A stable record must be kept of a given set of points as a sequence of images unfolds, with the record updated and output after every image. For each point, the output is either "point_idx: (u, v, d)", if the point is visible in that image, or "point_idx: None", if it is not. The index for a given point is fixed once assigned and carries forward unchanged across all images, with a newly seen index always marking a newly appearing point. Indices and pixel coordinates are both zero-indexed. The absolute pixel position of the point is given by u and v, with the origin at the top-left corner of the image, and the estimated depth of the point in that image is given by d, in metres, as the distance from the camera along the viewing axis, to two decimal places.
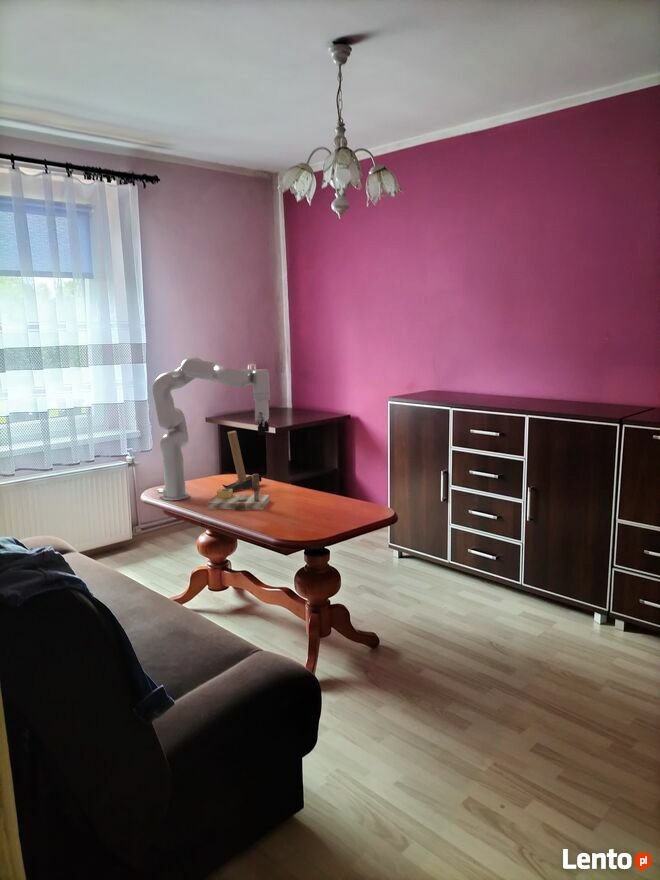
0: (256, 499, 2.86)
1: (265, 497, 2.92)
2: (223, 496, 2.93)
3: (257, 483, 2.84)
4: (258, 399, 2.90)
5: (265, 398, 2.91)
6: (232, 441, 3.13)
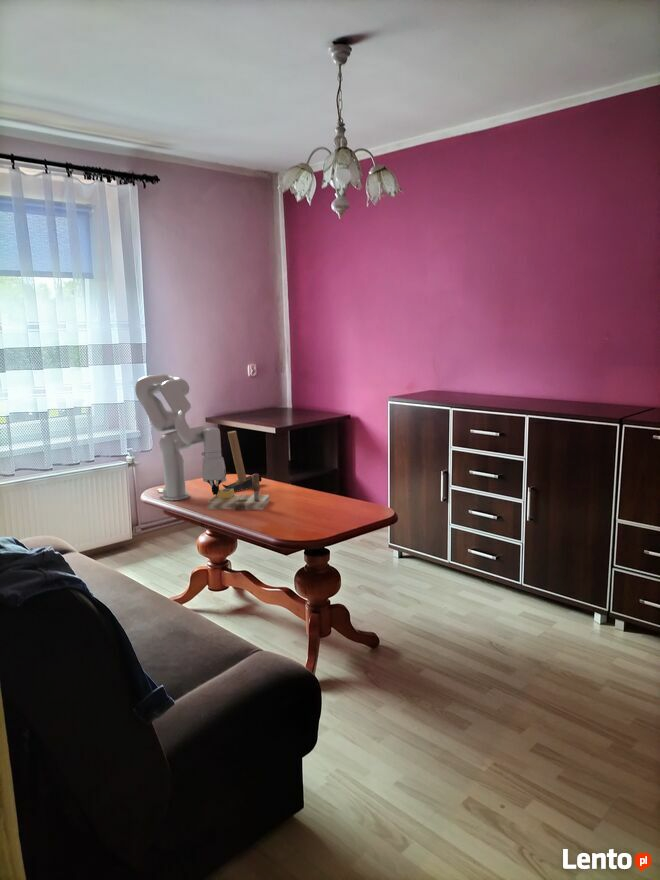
0: (256, 499, 2.86)
1: (265, 497, 2.92)
2: (224, 496, 2.93)
3: (257, 483, 2.84)
4: (220, 457, 2.91)
5: None
6: (232, 441, 3.13)
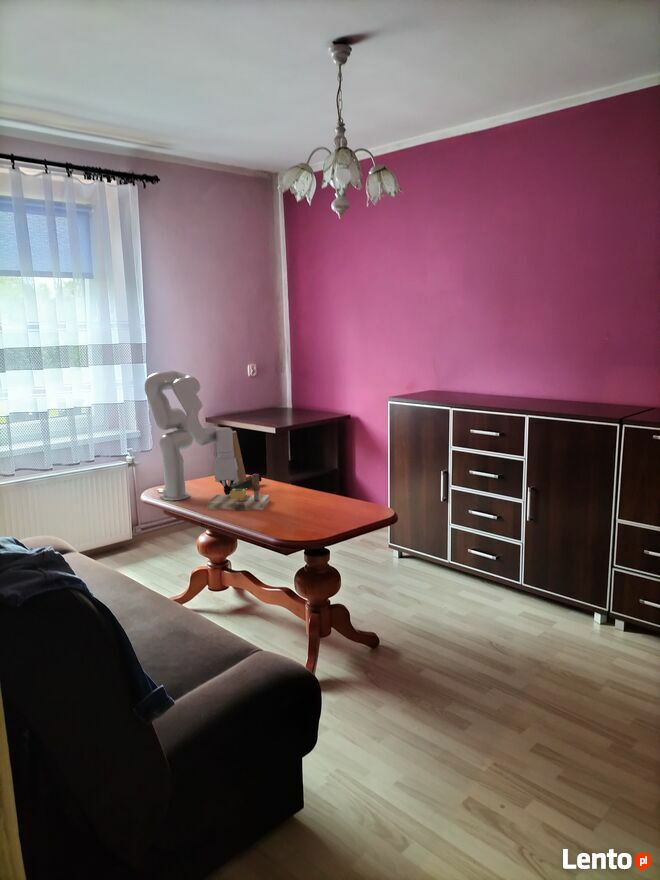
0: (256, 499, 2.86)
1: (265, 497, 2.92)
2: (236, 496, 2.92)
3: (257, 483, 2.84)
4: (232, 457, 2.90)
5: None
6: None
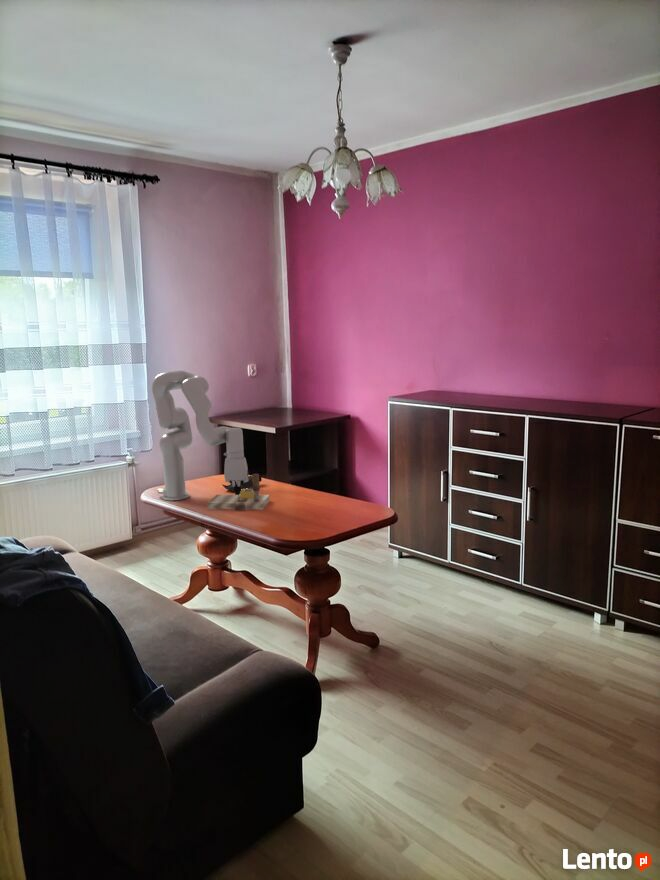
0: (256, 499, 2.86)
1: (265, 497, 2.92)
2: (246, 496, 2.91)
3: (257, 483, 2.84)
4: (242, 457, 2.90)
5: None
6: None
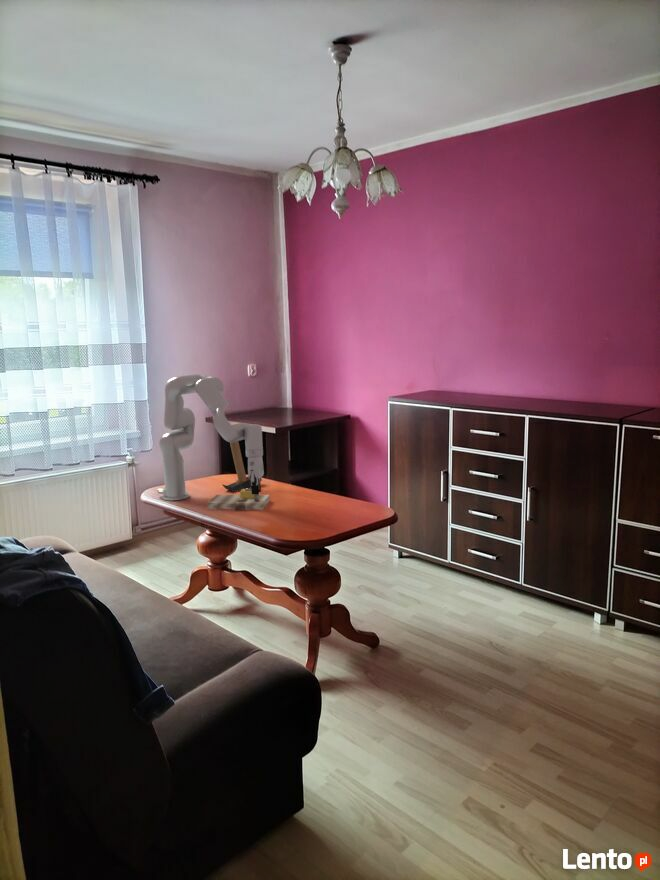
0: (256, 499, 2.86)
1: (265, 497, 2.92)
2: (246, 496, 2.91)
3: None
4: None
5: None
6: None
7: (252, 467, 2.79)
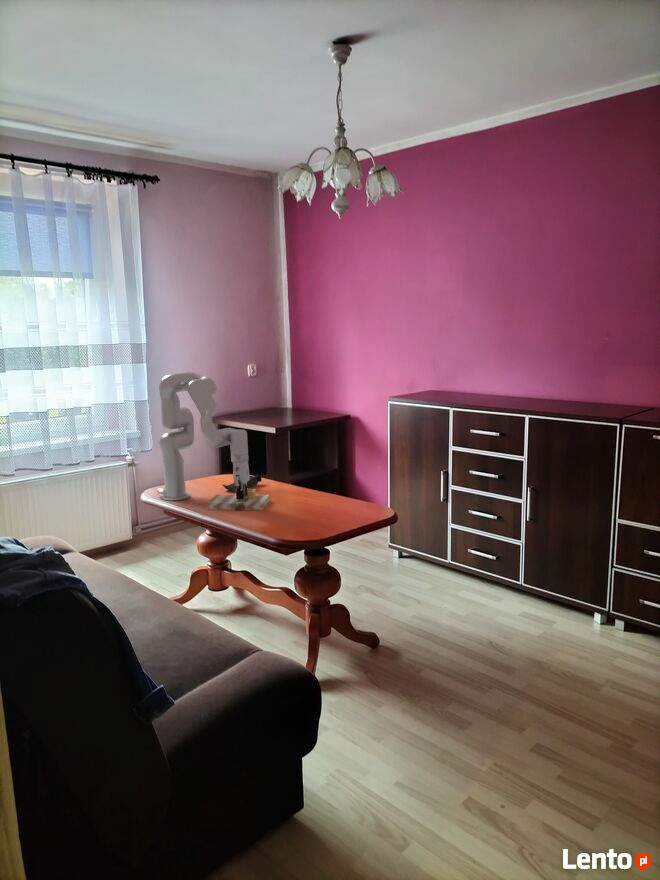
0: None
1: (265, 497, 2.92)
2: (246, 496, 2.91)
3: (243, 490, 2.86)
4: None
5: None
6: None
7: (237, 472, 2.80)
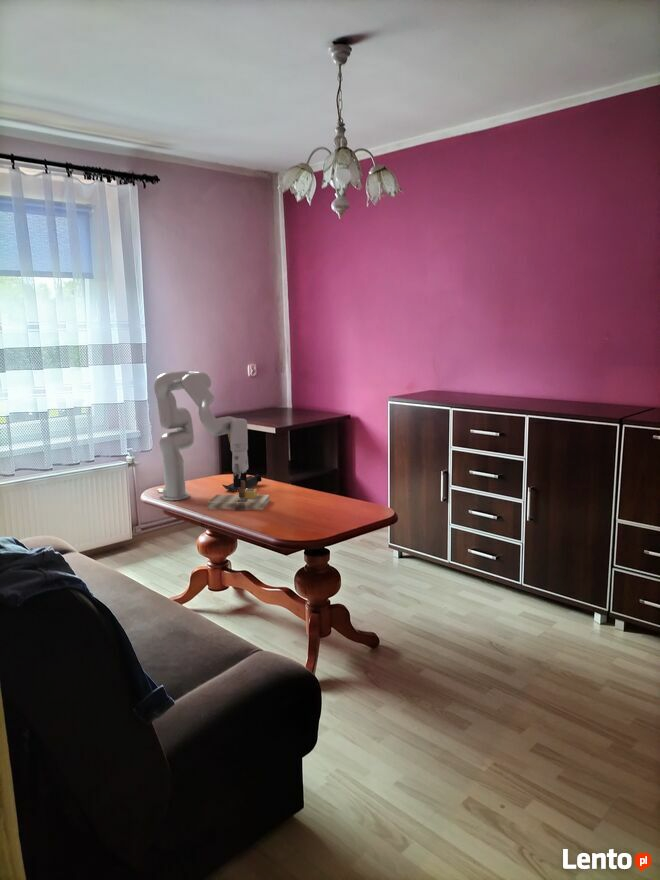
0: None
1: (265, 497, 2.92)
2: (248, 496, 2.91)
3: (243, 490, 2.86)
4: None
5: None
6: None
7: (236, 461, 2.80)
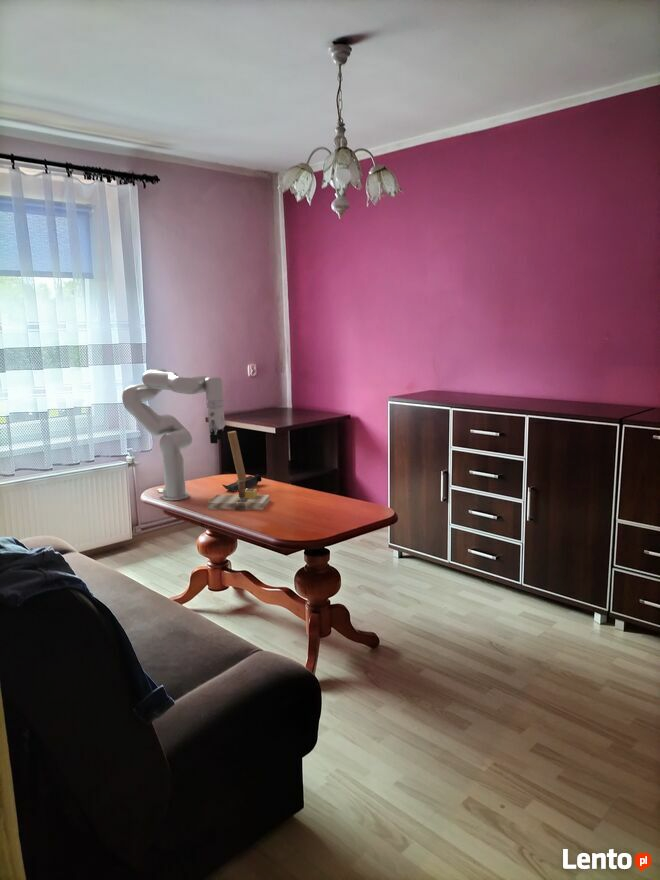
0: None
1: (265, 497, 2.92)
2: (248, 496, 2.91)
3: (243, 490, 2.86)
4: None
5: None
6: (232, 441, 3.13)
7: (212, 418, 2.87)
